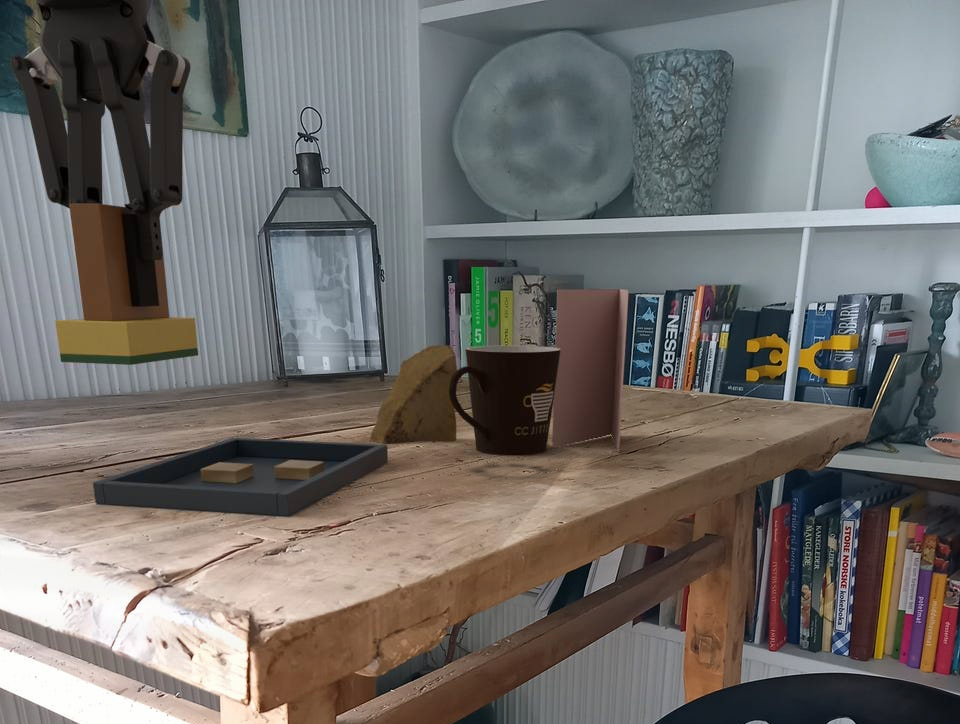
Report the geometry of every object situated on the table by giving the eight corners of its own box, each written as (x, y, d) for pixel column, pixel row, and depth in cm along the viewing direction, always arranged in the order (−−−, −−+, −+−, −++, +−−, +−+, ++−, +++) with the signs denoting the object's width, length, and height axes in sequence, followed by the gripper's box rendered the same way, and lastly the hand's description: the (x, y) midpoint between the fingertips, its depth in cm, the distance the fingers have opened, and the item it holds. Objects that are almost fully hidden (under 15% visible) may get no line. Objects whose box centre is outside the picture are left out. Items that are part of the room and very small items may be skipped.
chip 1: (201, 481, 72) (200, 468, 72) (220, 474, 75) (218, 462, 75) (236, 483, 72) (235, 470, 71) (254, 476, 75) (253, 463, 74)
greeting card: (604, 434, 103) (612, 289, 97) (664, 441, 98) (676, 289, 93) (544, 447, 94) (549, 289, 89) (607, 456, 90) (617, 290, 85)
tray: (97, 517, 65) (92, 482, 65) (234, 465, 84) (232, 437, 83) (290, 531, 62) (287, 494, 61) (388, 473, 81) (387, 444, 80)
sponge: (131, 364, 69) (112, 202, 65) (60, 362, 71) (38, 202, 67) (198, 355, 79) (185, 212, 75) (134, 353, 80) (118, 212, 76)
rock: (375, 433, 87) (476, 415, 89) (352, 354, 89) (452, 337, 91) (369, 484, 97) (460, 466, 99) (348, 411, 99) (438, 396, 101)
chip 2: (274, 479, 74) (273, 466, 73) (290, 471, 76) (289, 459, 76) (310, 480, 73) (309, 468, 73) (324, 473, 76) (324, 461, 75)
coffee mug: (534, 449, 93) (536, 344, 89) (572, 464, 86) (577, 351, 82) (423, 456, 89) (421, 347, 86) (453, 472, 82) (452, 353, 78)
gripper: (215, -43, 66) (240, 306, 75) (24, -32, 70) (69, 302, 78) (158, -81, 60) (193, 309, 68) (-50, -66, 63) (8, 304, 71)
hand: (127, 305), depth 73 cm, fingers closed on sponge, 2 cm apart
